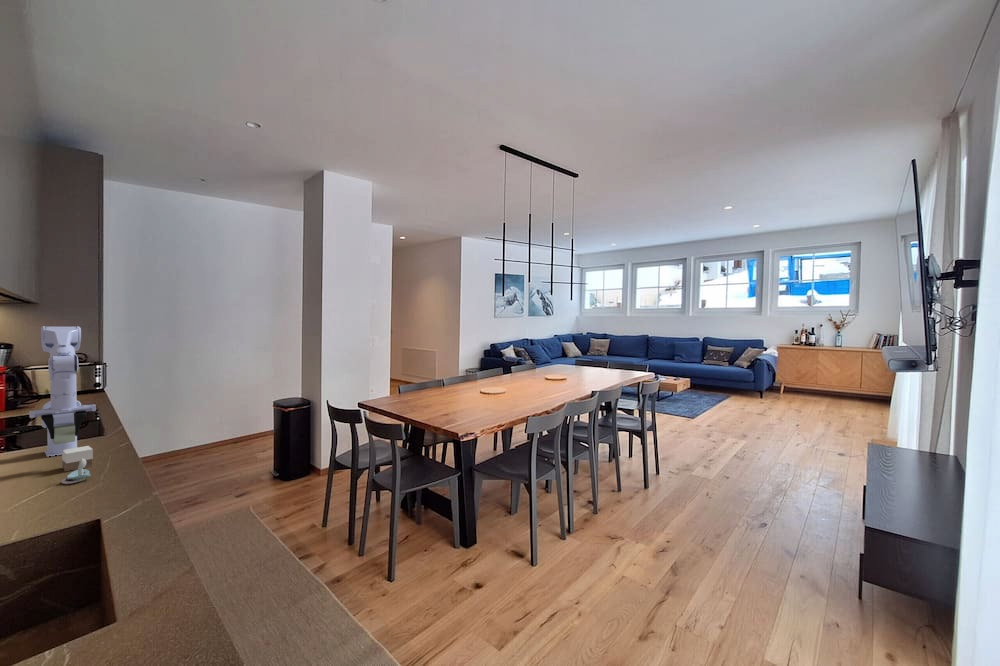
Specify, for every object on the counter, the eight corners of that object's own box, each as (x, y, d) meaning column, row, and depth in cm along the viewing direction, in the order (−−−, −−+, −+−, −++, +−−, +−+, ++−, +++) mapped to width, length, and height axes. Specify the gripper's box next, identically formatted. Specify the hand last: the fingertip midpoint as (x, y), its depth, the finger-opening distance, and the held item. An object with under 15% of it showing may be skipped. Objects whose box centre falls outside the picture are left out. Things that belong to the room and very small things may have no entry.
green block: (53, 441, 134) (52, 425, 134) (73, 438, 138) (73, 423, 138) (54, 444, 131) (54, 428, 131) (75, 441, 135) (75, 425, 135)
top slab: (62, 459, 134) (62, 449, 134) (88, 454, 138) (88, 445, 138) (66, 463, 130) (66, 453, 130) (92, 458, 135) (92, 449, 135)
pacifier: (61, 487, 119) (91, 481, 123) (60, 465, 119) (90, 459, 123) (61, 480, 124) (89, 474, 128) (59, 459, 124) (88, 454, 128)
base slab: (62, 468, 134) (62, 459, 134) (88, 464, 139) (88, 454, 139) (64, 473, 130) (64, 463, 130) (92, 468, 135) (91, 458, 135)
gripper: (30, 398, 126) (30, 444, 126) (97, 392, 137) (97, 434, 138) (28, 395, 131) (29, 439, 131) (93, 390, 142) (94, 431, 142)
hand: (64, 436), depth 135 cm, fingers closed on green block, 4 cm apart
